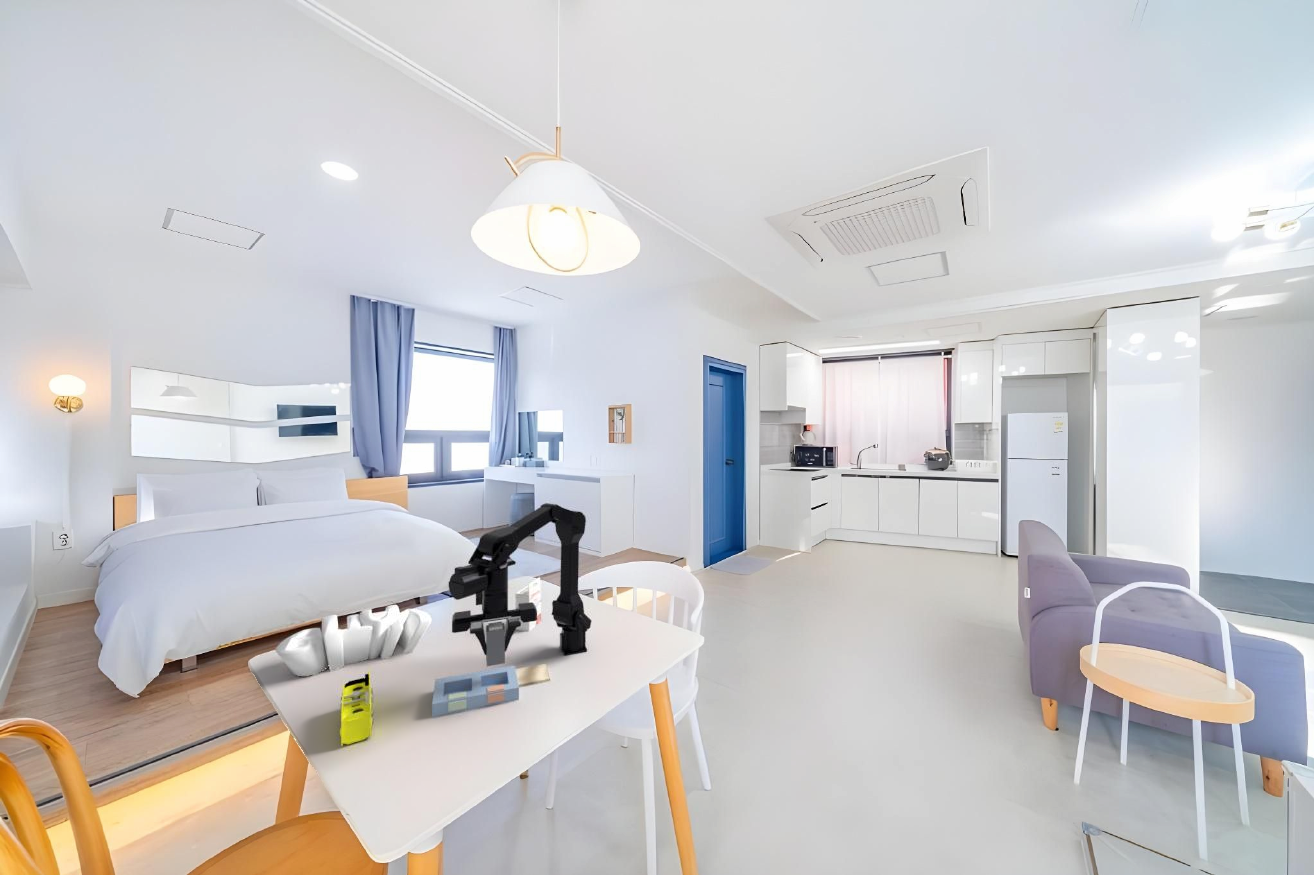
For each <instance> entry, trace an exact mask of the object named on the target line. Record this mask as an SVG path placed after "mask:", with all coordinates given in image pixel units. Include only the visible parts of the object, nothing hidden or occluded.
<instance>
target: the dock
mask: <svg viewBox="0 0 1314 875" xmlns="http://www.w3.org/2000/svg"><path fill="white" fill-rule="evenodd" d="M515 669H516V666H515V665H509V666H503V667H498V668H492V669H486V670H479V671H475V672H470V673H465V674H457V675H453V676H446V677H440V678H436V679H435V681H434V688H433V696H432V702H431V712H432V713H431V718H432V719H433V718H438V717H441V716H442V717H443V716H445V715H451V714H455V713H456V714H457V713H461V712H465V711H471V710H476V709H480V708H481V709H482V708H485V707H489V706H495V705H500V704H504V703H509V702H514V701H519V700H520V687H519V685H518V680H517V675H516V670H515Z"/></svg>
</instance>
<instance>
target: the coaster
mask: <svg viewBox="0 0 1314 875" xmlns="http://www.w3.org/2000/svg"><path fill="white" fill-rule="evenodd" d="M515 670H516V675H517V680H518V685H519V688H521V687H526V686H532V685H537V684H542V683H546V682H550V681H551V676H550V673H549V671H548V667H547V665H546V663H542V664H536V665H532V666H531V665H530V666H526V667H525V666H524V667H520V668H515Z"/></svg>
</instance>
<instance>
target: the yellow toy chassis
mask: <svg viewBox="0 0 1314 875" xmlns="http://www.w3.org/2000/svg"><path fill="white" fill-rule="evenodd" d="M342 682H343V684H342V693H341V695H342V696H341V697H340V701H341V703H340V704H339V705H340V710H341V711H340V719H341V720H340V728H339V736H340V741H341V742H340V746H341V747H343V745H344V744H345V745H350V744H353V743H357V742H361V741H363V740H365V739H367V738H368V737H369V738H372V726H373V724H374V714H373V713H374V710H373V709H374V691H373V690H374V688H373V687H372V686H371V685H372V684H371V669H368V673H365V674H364V677H362V678H357V679H353V680H349V681H348V682H347V683H345V681H344V680H343V681H342Z"/></svg>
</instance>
